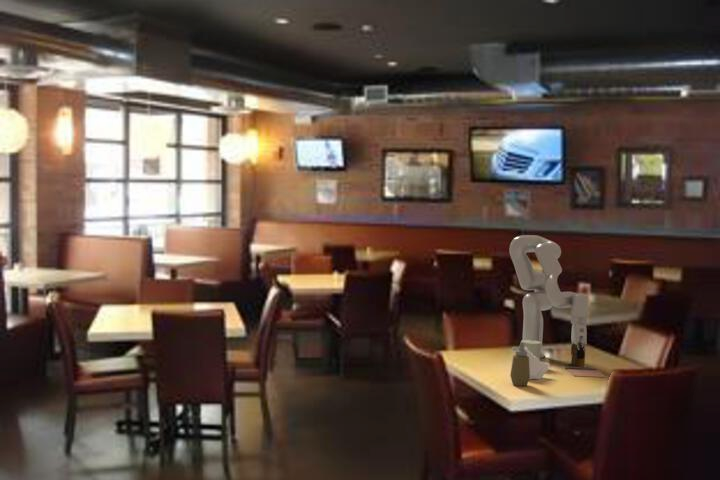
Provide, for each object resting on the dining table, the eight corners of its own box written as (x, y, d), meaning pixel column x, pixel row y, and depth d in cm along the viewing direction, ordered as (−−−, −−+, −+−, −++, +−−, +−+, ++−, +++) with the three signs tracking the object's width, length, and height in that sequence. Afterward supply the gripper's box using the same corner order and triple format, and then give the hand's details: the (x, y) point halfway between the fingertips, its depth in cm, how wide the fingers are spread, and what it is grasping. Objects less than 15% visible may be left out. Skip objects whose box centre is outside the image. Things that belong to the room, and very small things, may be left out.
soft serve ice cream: (539, 385, 332) (536, 354, 328) (506, 383, 340) (502, 352, 336) (548, 373, 342) (545, 343, 339) (516, 370, 350) (512, 341, 347)
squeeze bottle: (507, 382, 329) (509, 340, 328) (526, 382, 330) (528, 340, 328) (512, 387, 321) (515, 343, 320) (532, 387, 321) (534, 344, 320)
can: (541, 365, 364) (543, 340, 364) (537, 369, 356) (538, 343, 355) (522, 363, 368) (523, 338, 367) (517, 366, 360) (518, 341, 359)
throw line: (565, 369, 359) (565, 368, 359) (565, 368, 360) (565, 367, 360) (596, 370, 359) (596, 369, 359) (595, 369, 360) (595, 368, 360)
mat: (573, 376, 345) (573, 375, 345) (566, 370, 357) (566, 369, 357) (605, 377, 345) (605, 376, 345) (597, 371, 357) (597, 370, 357)
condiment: (588, 366, 366) (589, 341, 366) (576, 368, 362) (577, 342, 361) (576, 363, 372) (577, 338, 372) (564, 365, 368) (565, 339, 367)
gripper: (592, 323, 357) (590, 360, 358) (581, 317, 374) (580, 353, 375) (576, 322, 357) (574, 360, 358) (566, 317, 374) (564, 352, 375)
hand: (577, 356), depth 366 cm, fingers open, 9 cm apart
